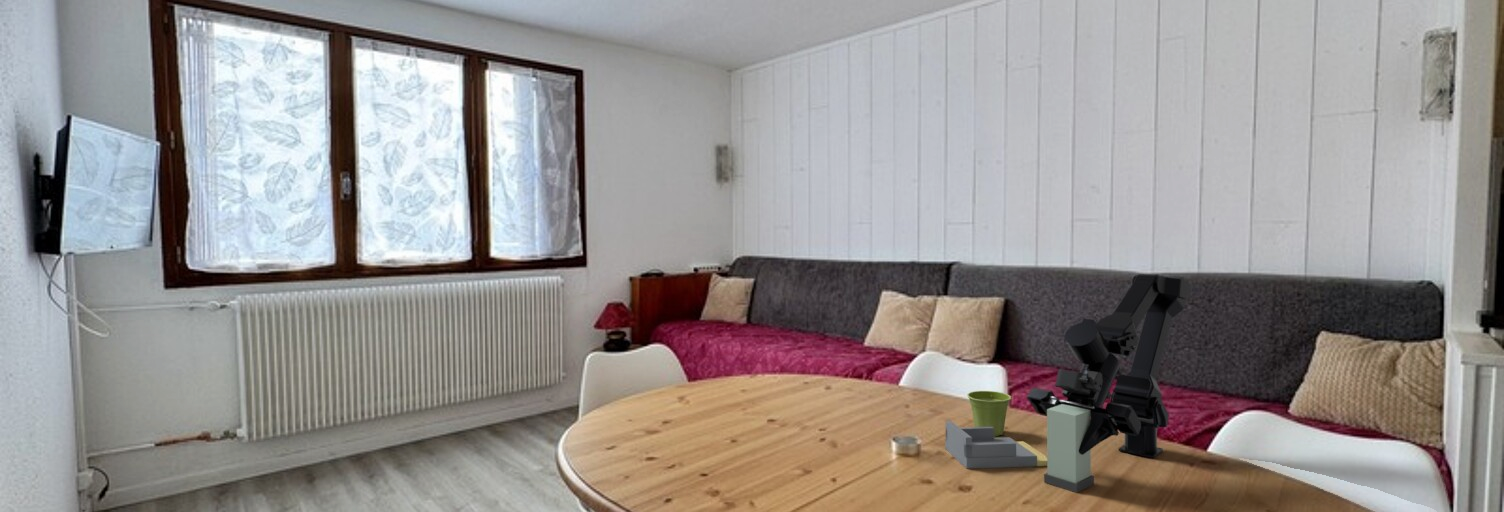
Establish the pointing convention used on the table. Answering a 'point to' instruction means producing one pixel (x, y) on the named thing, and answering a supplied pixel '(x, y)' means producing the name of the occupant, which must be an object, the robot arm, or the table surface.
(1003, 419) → the plant pot
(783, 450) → the table surface
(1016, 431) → the table surface
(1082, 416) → the pale green tall block
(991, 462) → the dock
